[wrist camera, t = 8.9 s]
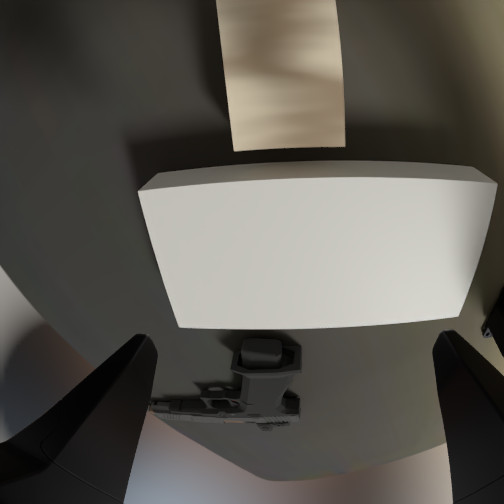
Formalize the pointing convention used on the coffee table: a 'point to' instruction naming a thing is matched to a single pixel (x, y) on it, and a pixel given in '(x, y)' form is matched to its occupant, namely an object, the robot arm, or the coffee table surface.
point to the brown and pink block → (282, 73)
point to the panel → (317, 242)
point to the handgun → (247, 390)
